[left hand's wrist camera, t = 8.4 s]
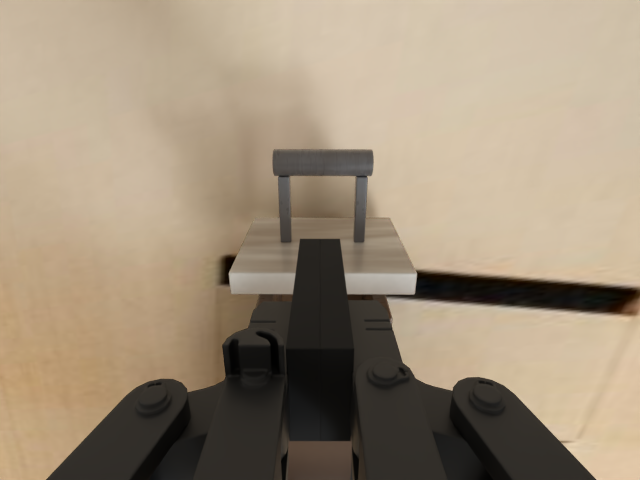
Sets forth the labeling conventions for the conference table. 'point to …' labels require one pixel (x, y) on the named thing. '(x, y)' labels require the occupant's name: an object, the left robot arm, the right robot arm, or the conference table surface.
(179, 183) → the conference table surface
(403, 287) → the drawer
